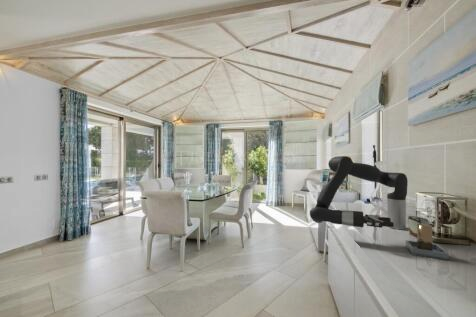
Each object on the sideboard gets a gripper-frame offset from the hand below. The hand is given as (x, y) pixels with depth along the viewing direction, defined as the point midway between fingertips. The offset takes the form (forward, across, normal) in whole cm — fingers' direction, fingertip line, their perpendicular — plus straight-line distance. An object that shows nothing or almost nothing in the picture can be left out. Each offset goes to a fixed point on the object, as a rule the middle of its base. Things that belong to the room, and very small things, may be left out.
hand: (391, 222), depth 101 cm
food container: (+16, +23, +12) cm, 30 cm away
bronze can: (+12, -1, +11) cm, 16 cm away
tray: (+12, -1, +11) cm, 16 cm away
